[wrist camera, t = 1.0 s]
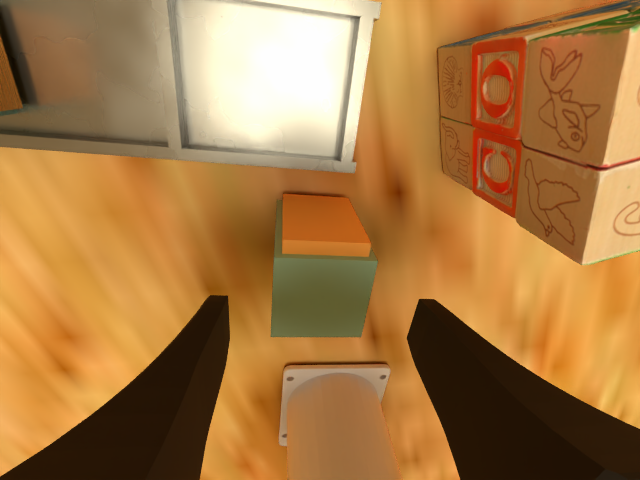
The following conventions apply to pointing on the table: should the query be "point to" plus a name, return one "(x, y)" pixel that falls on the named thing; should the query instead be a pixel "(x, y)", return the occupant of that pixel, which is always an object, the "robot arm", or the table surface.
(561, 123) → the stack of blocks
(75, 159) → the table surface
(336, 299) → the toy block
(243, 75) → the rail
